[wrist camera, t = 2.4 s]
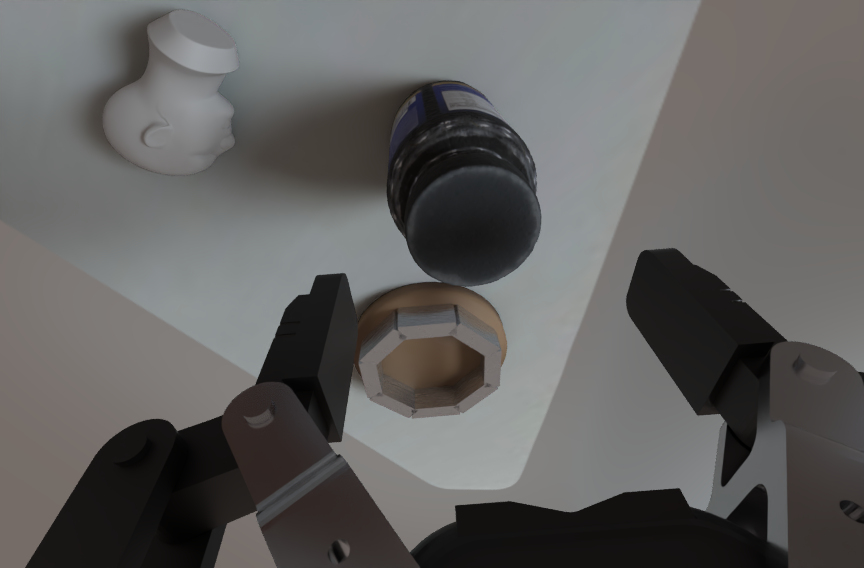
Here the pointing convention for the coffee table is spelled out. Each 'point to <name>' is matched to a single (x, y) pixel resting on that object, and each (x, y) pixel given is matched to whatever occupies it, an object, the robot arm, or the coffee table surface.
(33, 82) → the coffee table surface
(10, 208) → the coffee table surface
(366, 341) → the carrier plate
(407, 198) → the pill bottle
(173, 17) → the white head bust
